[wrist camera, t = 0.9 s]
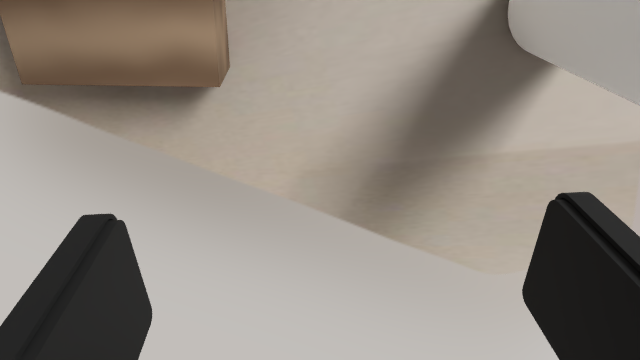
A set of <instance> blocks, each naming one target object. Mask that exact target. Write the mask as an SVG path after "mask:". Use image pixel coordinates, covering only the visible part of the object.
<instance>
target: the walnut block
mask: <svg viewBox="0 0 640 360" xmlns="http://www.w3.org/2000/svg"><path fill="white" fill-rule="evenodd" d="M0 16H1V19H2V22H3V25H4V29H5V32H6V35H7V38H8V41H9V44H10V48H11V51H12V54H13V57H14V60H15V63H16V67H17V70H18V73H19V76H20V79H21V82H22V84H37V85H111V86H186V87H220V86H221V84H222V82H223V80H224V78H225V76H226V74H227V72H228V70H229V68H230V62H229V48H228V34H227V21H226V7H225V0H0Z"/></svg>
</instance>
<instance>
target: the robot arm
mask: <svg viewBox="0 0 640 360" xmlns="http://www.w3.org/2000/svg"><path fill="white" fill-rule="evenodd" d="M522 291H523V292H522V293H523V299H524V302H525V304H526V306H527V307H528V309H529V311H530V312H531V314H532V316H533V317H534V319H535V321H536V322H537V324H538V325H539V327H540V328H541V330H542V332H543V334H544V335H545V337H546V339H547V340H548V342H549V343H550V345H551V347H552V348H553V350H554V352H555V353H556V355H557V356H558V358H559V360H640V237H639V236H638V235H637V234H636V233H635V232H634V231H633V230H631V229H630V228H629V227H628V226H627V225H626V224H625V223H624V222H623V221H621V220H620V219H619V218H618V217H617V216H616V215H615V214H614V213H613V212H611V211H610V210H609V209H608V208H607V207H606V206H605V205H604V204H603V203H602V202H600V201H599V200H598V199H597V198H596V197H595V196H594V195H592V194H591V193H589V192H575V193H561V194H558V196H557V197H556V198H555V200H552V201H550V202H549V204H548V206H547V209H546V213H545V216H544V219H543V222H542V226H541V229H540V232H539V236H538V239H537V242H536V245H535V249H534V252H533V255H532V259H531V262H530V265H529V269H528V272H527V275H526V279H525V282H524V285H523V289H522ZM151 320H152V308H151V304H150V301H149V298H148V295H147V292H146V288H145V285H144V282H143V279H142V276H141V273H140V269H139V266H138V263H137V260H136V257H135V254H134V250H133V247H132V244H131V241H130V238H129V234H128V232H127V228H126V225H125V223H124V222H123V221H122V220H117V219H116V217H115V216H114V215H113V214H94V215H83V216H82V217H81V218H80V219H79V220H78V221H77V223H76V224H75V225H74V227H73V228H72V229H71V231H70V232H69V233H68V235H67V236H66V238H65V239H64V240H63V242H62V243H61V244H60V246H59V247H58V248H57V250H56V251H55V253H54V254H53V255H52V257H51V258H50V259H49V261H48V262H47V263H46V265H45V266H44V268H43V269H42V270H41V272H40V273H39V274H38V276H37V277H36V278H35V280H34V281H33V282H32V284H31V285H30V287H29V288H28V289H27V291H26V292H25V294H24V295H23V296H22V297H21V299H20V300H19V302H18V303H17V304H16V306H15V307H14V308H13V310H12V311H11V313H10V314H9V315H8V317H7V318H6V319H5V321H4V322H3V323H2V325H1V326H0V360H138V358H139V355H140V352H141V349H142V347H143V344H144V341H145V339H146V336H147V333H148V330H149V327H150V325H151Z"/></svg>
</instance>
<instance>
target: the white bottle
mask: <svg viewBox="0 0 640 360" xmlns="http://www.w3.org/2000/svg"><path fill="white" fill-rule="evenodd" d="M508 22H509V28H510V31H511V33H512V36H513V38H514V39H515V41H516V42H517V44H518V45H519V46H520V47H522V48H523V49H524V50H525V51H527V52H529V53H531V54H533V55H535V56H537V57H539V58H541V59H543V60H545V61H547V62H549V63H552V64H554V65H556V66H558V67H560V68H562V69H564V70H566V71H568V72H570V73H573V74H575V75H577V76H579V77H581V78H583V79H585V80H587V81H589V82H591V83H593V84H596V85H598V86H600V87H602V88H604V89H606V90H608V91H610V92H612V93H614V94H617V95H619V96H621V97H623V98H625V99H627V100H629V101H631V102H633V103H635V104H637V105H640V0H510V1H509V5H508Z"/></svg>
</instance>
